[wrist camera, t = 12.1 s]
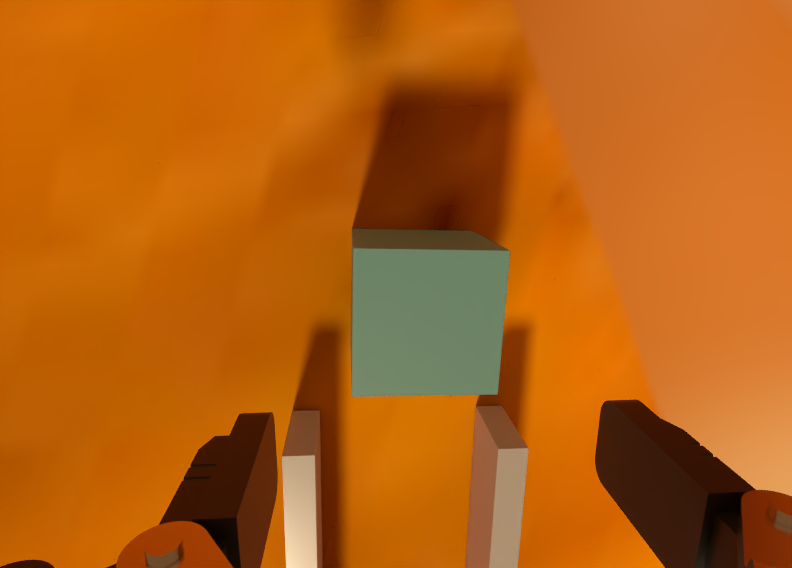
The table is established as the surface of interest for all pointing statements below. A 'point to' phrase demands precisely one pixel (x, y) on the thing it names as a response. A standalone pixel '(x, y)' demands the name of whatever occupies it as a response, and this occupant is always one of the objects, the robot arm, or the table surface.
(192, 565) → the robot arm
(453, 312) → the teal block
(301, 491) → the grey channel
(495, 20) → the table surface
